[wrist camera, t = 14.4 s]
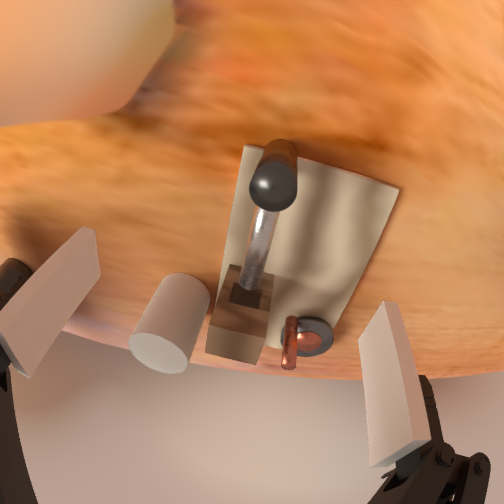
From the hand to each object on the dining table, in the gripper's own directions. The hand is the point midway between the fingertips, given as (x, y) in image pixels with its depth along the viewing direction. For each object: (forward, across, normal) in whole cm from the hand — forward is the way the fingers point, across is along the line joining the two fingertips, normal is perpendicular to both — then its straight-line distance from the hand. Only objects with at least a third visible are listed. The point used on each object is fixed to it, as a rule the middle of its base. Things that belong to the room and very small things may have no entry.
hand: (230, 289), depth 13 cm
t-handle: (+22, +1, -5) cm, 22 cm away
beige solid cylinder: (+23, -8, -24) cm, 34 cm away
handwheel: (+22, +11, -24) cm, 34 cm away
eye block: (+23, +6, -15) cm, 28 cm away
